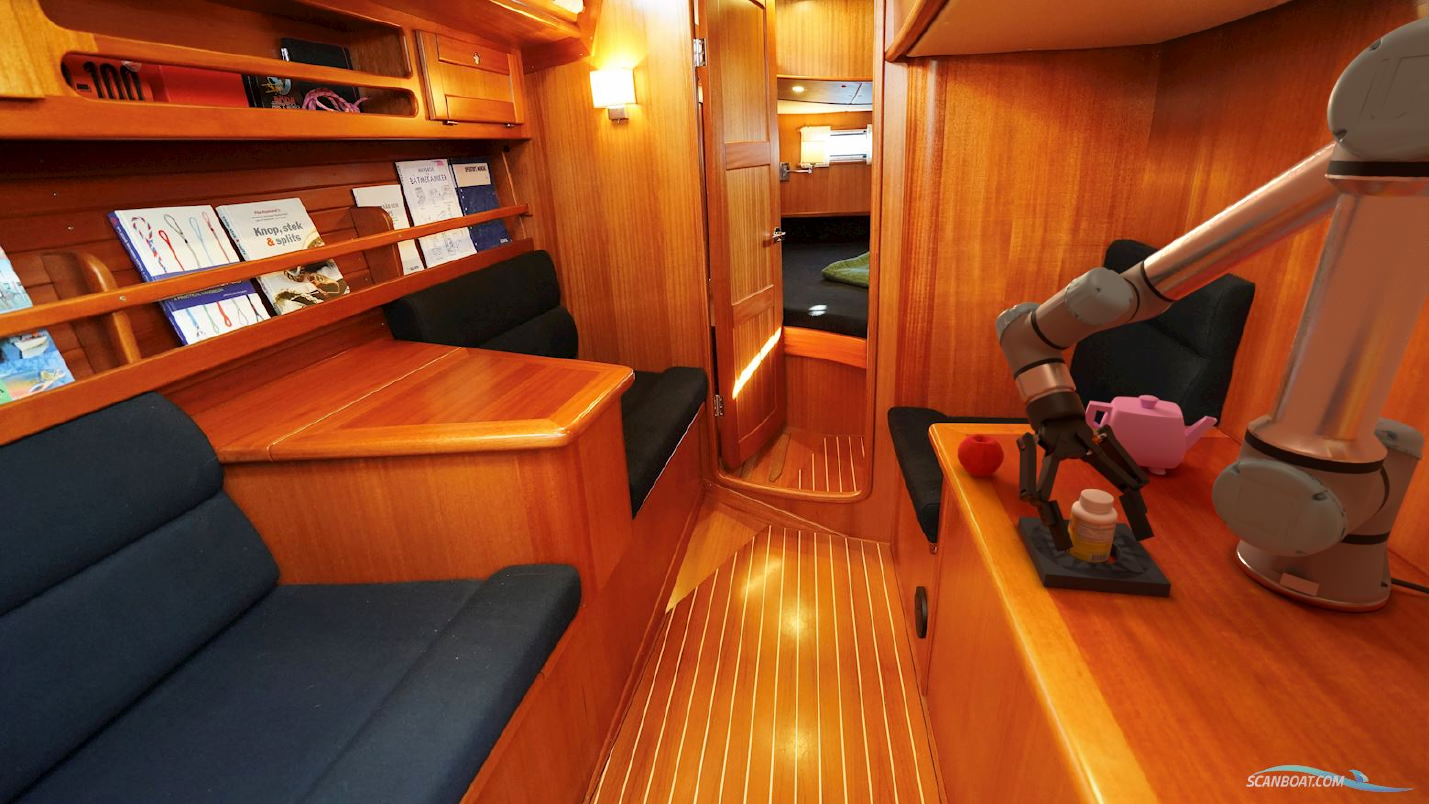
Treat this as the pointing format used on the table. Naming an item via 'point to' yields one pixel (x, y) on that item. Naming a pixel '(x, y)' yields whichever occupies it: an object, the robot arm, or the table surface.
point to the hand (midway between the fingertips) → (1105, 544)
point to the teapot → (1149, 429)
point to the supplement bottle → (1092, 526)
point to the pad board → (1065, 571)
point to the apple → (980, 455)
